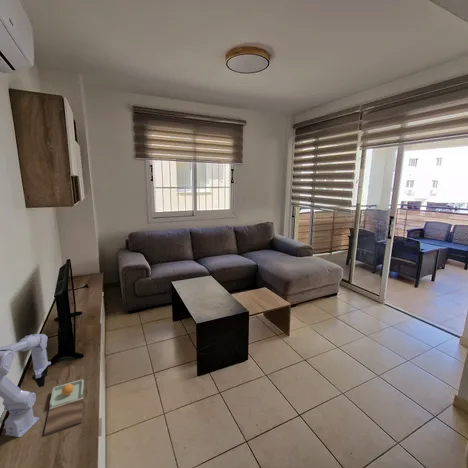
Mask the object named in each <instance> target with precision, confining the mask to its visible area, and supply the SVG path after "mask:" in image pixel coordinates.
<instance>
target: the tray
mask: <svg viewBox="0 0 468 468" xmlns="http://www.w3.org/2000/svg"><path fill="white" fill-rule="evenodd" d="M67 384H71V385H73V391H72V393H71V394H69V395H63V394H62V389H63V387H64V386H65V385H67ZM83 389H84V390H85V378H80V379H79V380H75V381H72V382H71V381H70V382H67V383H64V384H61V385H57V386H53V387H52V392H51V397H50V400H49V408H50V407H53V406H56V405H59V404H62V403H66V402H69V401H72V400H75V399H79V398H82V397H83V398H84V396H83Z"/></svg>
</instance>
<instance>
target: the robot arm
mask: <svg viewBox="0 0 468 468" xmlns="http://www.w3.org/2000/svg"><path fill="white" fill-rule="evenodd" d="M48 339H49V338H48V336H47V335H46V334H45V333H34V334H29V335H25V336H24V337H23V338H21V339H19V341H18V342H14V343H11V344H6V345H2V346H0V398H2V399H3V401H2V405H3V407H4V410H5V411H8V414H9V416H8V417H7V418H6V419H5V421H4V427H5V428H4V429H5V433H4V435H5V436H11V437H16V438H21V437H23V436H24V434H26V433H27V432H28V431H29V430H30V429H31V428H32V427H33V426H34V425H35V424H36V423H37V422H38V421H39V420H40V417H37V416H34V415H35V414H34V410H33V406H34V405H35V403H36V400H37V395H36V393H35V392H30V391H29V390H22V389H21V388H20V387H19V386H18V385H16V384H15V383H14V382H13V381H12V380H11V379H9V378H8V377H7V375H8V374H9V372H10V369H11V366H12V364H13V362H14V359H15V357H16V353H17V352H27V351H29V350H30V351H31V359H32V365H33V367H32V369H33V371H34V373H35V374H33V375H32V376H31V379H32V380H33V381H34V382H35V383H36V385H37V386H38V388H42V387H44V386H45V385H46V382H45V380H46V377H47V376H48V370H49V366H50V365H52V362H51V360H49V359H48V352H47V346H48V344H47V343H48Z"/></svg>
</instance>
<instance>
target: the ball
mask: <svg viewBox="0 0 468 468" xmlns="http://www.w3.org/2000/svg"><path fill="white" fill-rule="evenodd" d="M66 384H67V383H66ZM72 391H73V385H71V384H67V385H65V386H64V387H63V389H62V394H63V395H69V394H71V393H72Z"/></svg>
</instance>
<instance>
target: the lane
mask: <svg viewBox="0 0 468 468" xmlns="http://www.w3.org/2000/svg"><path fill="white" fill-rule="evenodd" d="M84 392H85V388H84V389H83V397H82V398H79V399H75V400H72V401H69V402H66V403H62V404H59V405H56V406H53V407H50V406H49V409H48V414H47V420H46V424H45V429H44V434H43V436H44V437H46V436H48V435H52V434H54V433H56V432H60V431H62V430H65V429H68V428H71V427H72V428H73V427H75V426H78V425H80V424H82V422H83V408H84V407H83V406H84V395H85V393H84Z"/></svg>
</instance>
